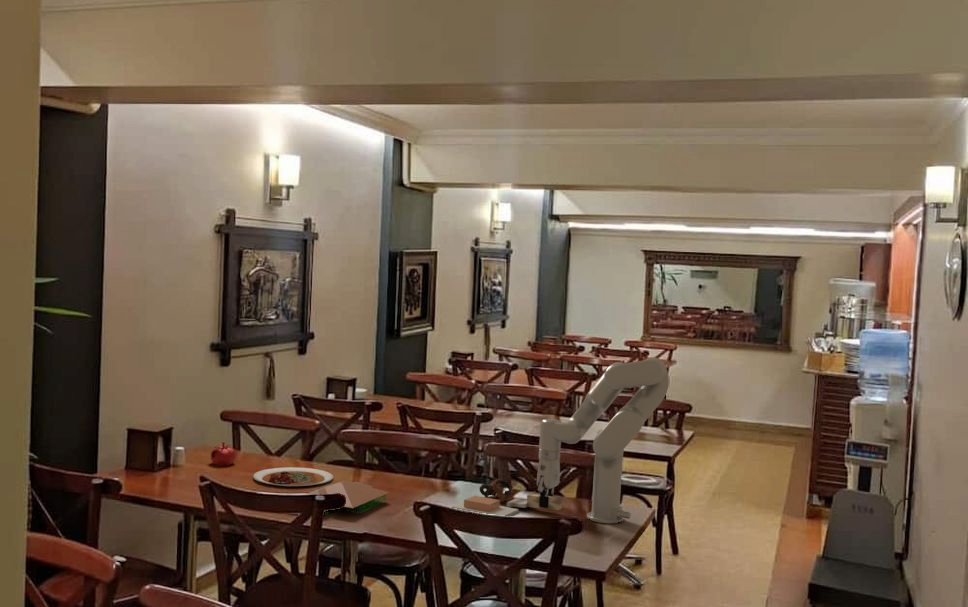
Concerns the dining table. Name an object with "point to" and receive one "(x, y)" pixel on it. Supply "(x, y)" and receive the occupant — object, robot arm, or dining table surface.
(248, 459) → the dining table surface
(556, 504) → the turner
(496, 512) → the board
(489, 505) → the tile
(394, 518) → the dining table surface
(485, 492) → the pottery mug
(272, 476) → the plated food
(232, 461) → the pomegranate
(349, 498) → the house
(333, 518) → the dining table surface
